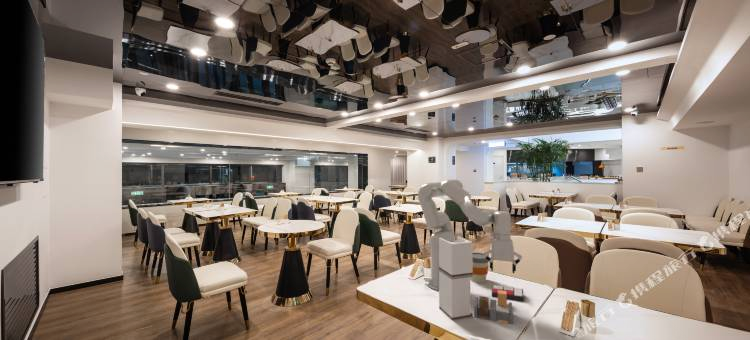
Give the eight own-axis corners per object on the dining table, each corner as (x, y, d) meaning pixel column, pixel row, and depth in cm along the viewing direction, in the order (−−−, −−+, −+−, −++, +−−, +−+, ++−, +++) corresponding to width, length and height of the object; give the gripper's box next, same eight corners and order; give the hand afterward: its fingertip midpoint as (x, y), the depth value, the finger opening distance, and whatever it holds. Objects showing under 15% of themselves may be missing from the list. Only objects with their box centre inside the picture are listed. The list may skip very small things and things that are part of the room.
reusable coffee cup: (463, 276, 185) (463, 252, 185) (482, 275, 186) (482, 252, 186) (472, 284, 172) (472, 259, 172) (492, 283, 174) (492, 258, 174)
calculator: (492, 284, 165) (522, 287, 158) (493, 292, 165) (523, 295, 158) (491, 291, 155) (523, 295, 148) (492, 300, 155) (524, 304, 148)
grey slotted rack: (474, 319, 134) (474, 306, 133) (475, 309, 143) (475, 297, 143) (513, 326, 128) (513, 312, 127) (511, 315, 137) (511, 302, 137)
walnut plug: (479, 314, 136) (479, 299, 135) (479, 310, 139) (479, 296, 139) (488, 316, 134) (488, 301, 134) (488, 312, 138) (488, 297, 138)
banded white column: (472, 318, 134) (472, 242, 134) (451, 322, 131) (451, 244, 131) (458, 307, 145) (458, 236, 145) (439, 310, 142) (439, 238, 142)
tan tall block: (497, 307, 145) (497, 293, 144) (497, 303, 148) (497, 290, 148) (506, 308, 143) (506, 294, 143) (506, 305, 147) (506, 291, 147)
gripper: (483, 236, 145) (483, 271, 145) (522, 239, 138) (522, 276, 139) (483, 233, 152) (484, 266, 152) (521, 236, 145) (521, 270, 145)
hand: (502, 271), depth 145 cm, fingers open, 9 cm apart
